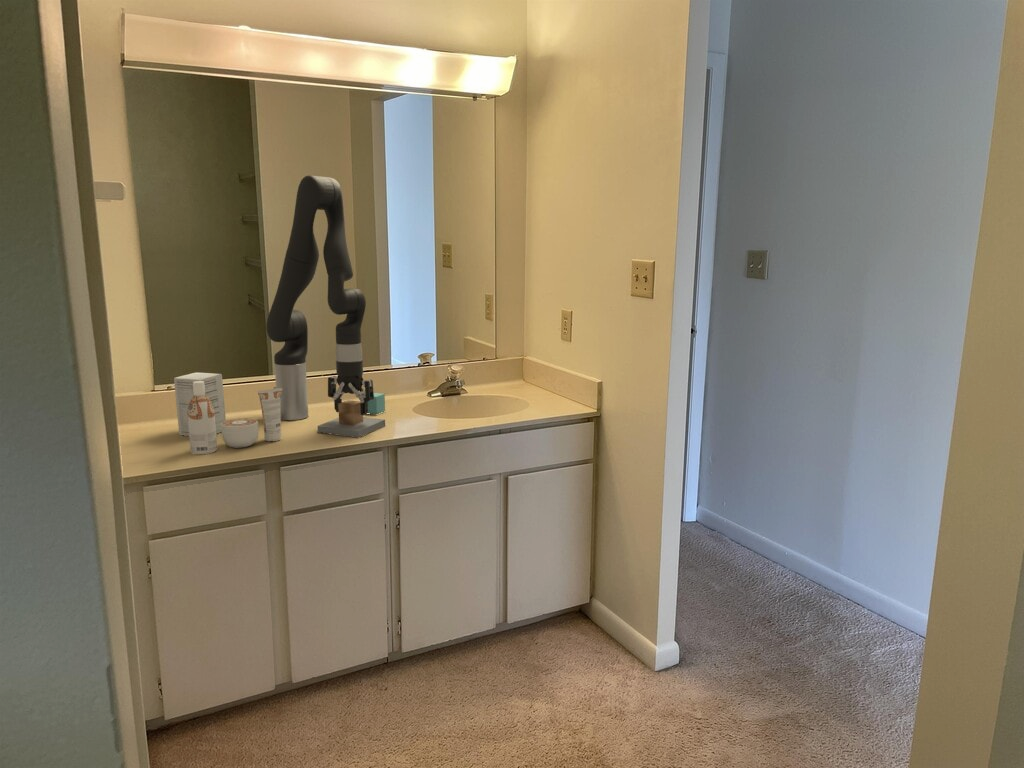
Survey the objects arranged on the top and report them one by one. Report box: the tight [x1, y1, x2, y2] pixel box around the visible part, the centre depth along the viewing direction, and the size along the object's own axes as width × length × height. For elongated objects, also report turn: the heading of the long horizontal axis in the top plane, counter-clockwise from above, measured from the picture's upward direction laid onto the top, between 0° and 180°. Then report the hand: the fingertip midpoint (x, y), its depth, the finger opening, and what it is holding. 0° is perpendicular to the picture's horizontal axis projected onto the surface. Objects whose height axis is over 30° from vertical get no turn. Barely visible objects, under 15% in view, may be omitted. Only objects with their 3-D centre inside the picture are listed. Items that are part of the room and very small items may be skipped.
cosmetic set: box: [187, 381, 282, 455], centre depth 199 cm, size 25×9×19 cm, turn 127°
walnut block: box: [338, 399, 364, 425], centre depth 217 cm, size 5×5×6 cm
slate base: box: [316, 416, 386, 438], centre depth 217 cm, size 14×14×2 cm
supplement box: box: [173, 372, 227, 437], centre depth 211 cm, size 10×9×17 cm
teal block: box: [367, 392, 386, 415], centre depth 237 cm, size 5×5×6 cm
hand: (351, 413), depth 217 cm, fingers open, 8 cm apart
